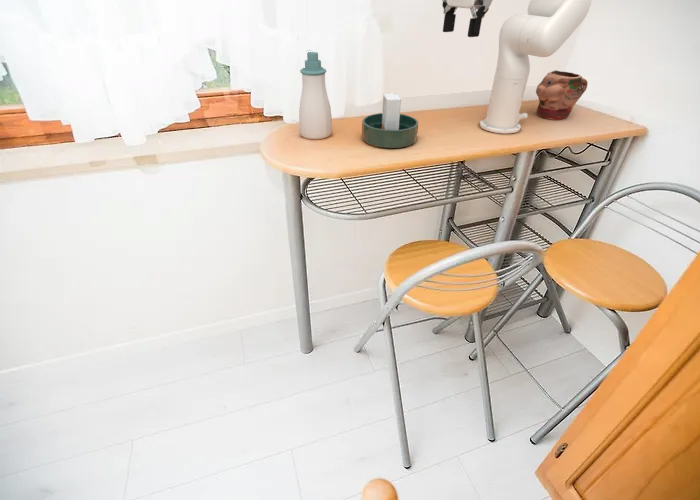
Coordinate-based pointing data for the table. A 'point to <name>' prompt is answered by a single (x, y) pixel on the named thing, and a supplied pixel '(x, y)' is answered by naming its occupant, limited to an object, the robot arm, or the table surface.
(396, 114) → the cosmetic box
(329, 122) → the soap bottle
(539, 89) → the decorative planter
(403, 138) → the bowl
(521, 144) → the table surface
